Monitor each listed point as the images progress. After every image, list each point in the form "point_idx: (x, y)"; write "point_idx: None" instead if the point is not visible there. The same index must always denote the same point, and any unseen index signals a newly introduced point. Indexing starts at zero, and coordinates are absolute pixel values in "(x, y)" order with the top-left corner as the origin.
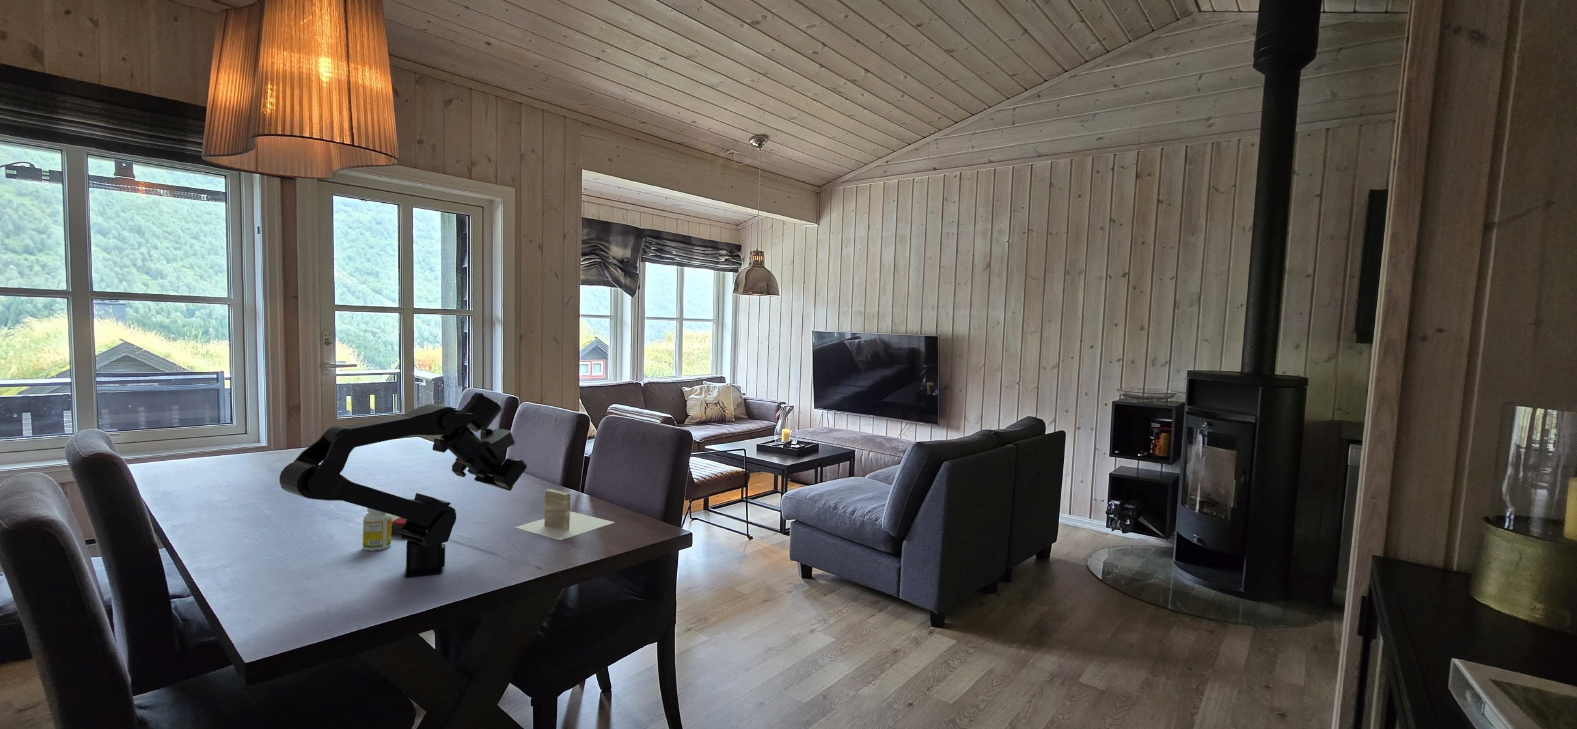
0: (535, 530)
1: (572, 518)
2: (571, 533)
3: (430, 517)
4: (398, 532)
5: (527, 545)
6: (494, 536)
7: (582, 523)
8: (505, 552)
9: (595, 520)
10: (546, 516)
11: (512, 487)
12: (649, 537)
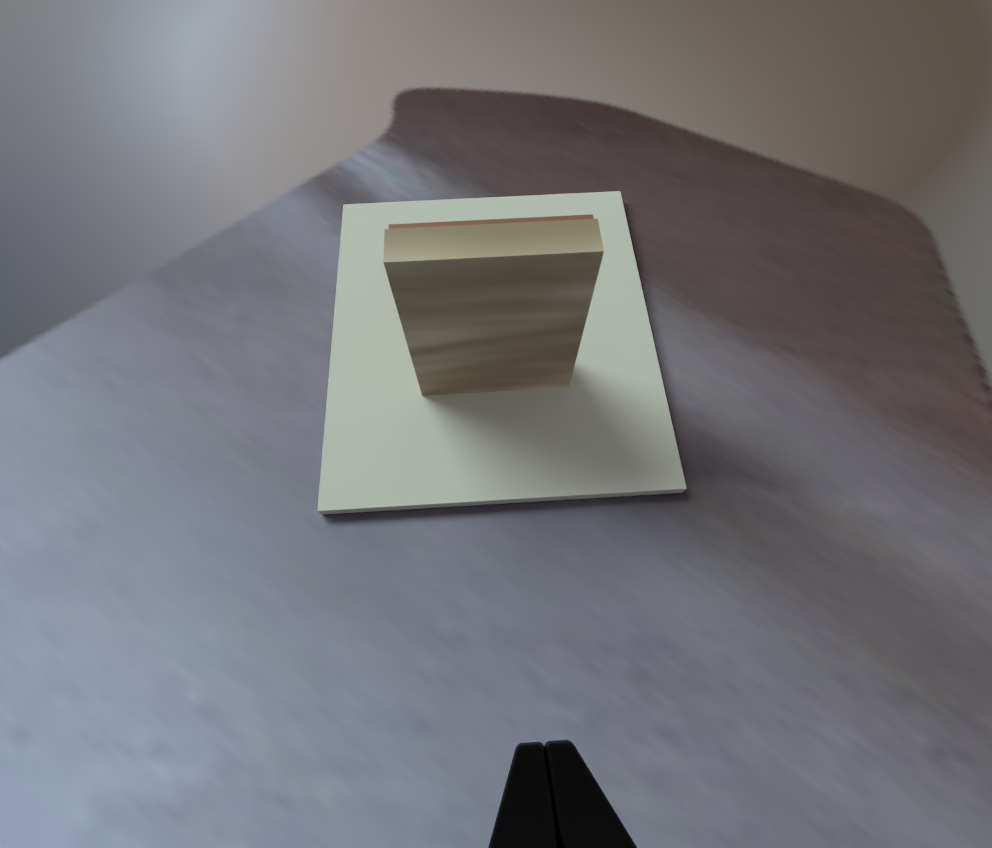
0: (454, 472)
1: None
2: (629, 389)
3: None
4: None
5: (604, 635)
6: (325, 664)
7: None
8: (629, 816)
9: None
10: (429, 368)
11: (577, 755)
12: (858, 218)
